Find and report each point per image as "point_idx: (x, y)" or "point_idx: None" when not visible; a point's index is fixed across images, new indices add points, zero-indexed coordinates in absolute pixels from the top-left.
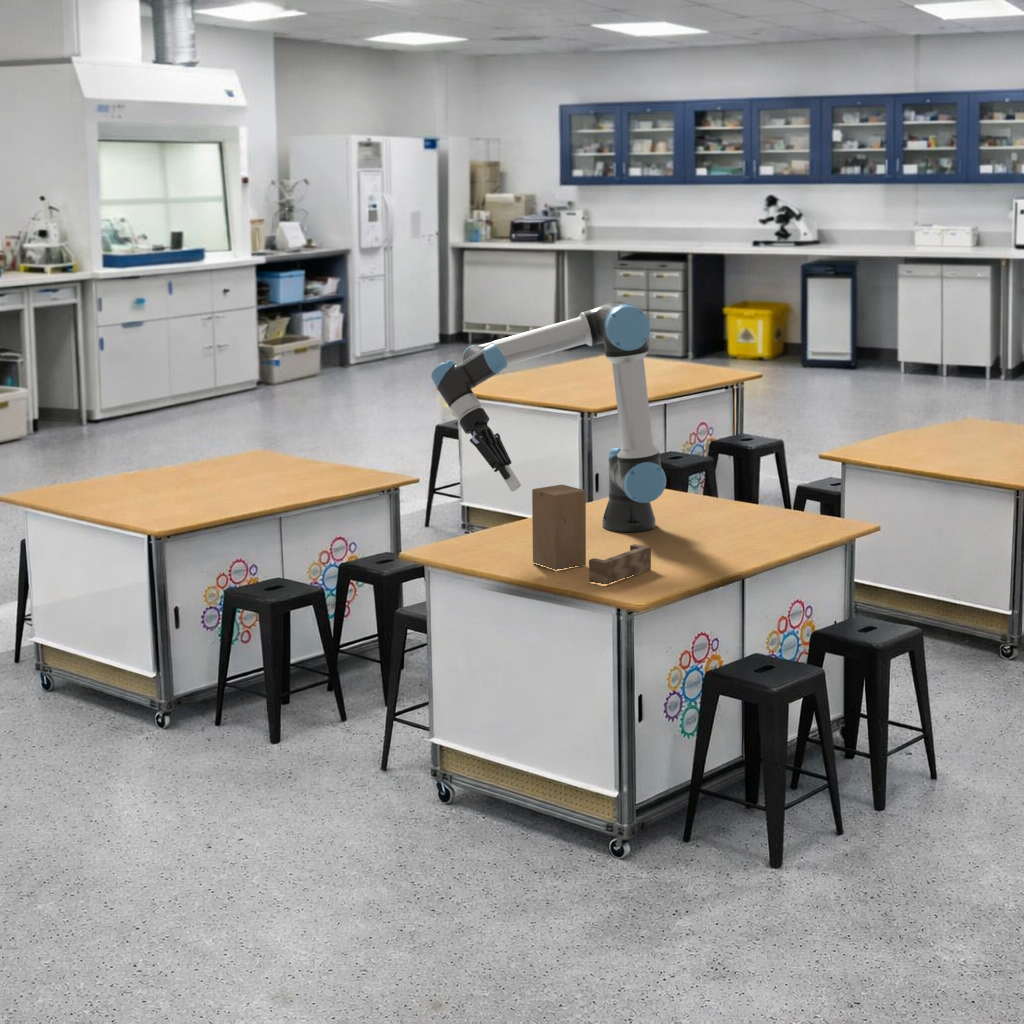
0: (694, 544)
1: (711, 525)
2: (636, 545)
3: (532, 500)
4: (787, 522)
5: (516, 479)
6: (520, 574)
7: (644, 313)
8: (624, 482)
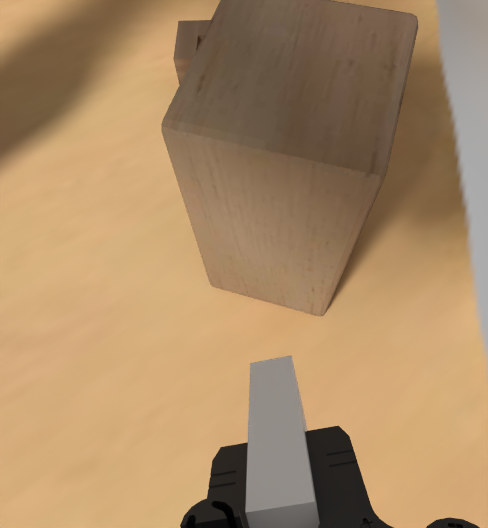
0: None
1: None
2: (185, 48)
3: (369, 209)
4: None
5: (270, 390)
6: (435, 280)
7: None
8: None
